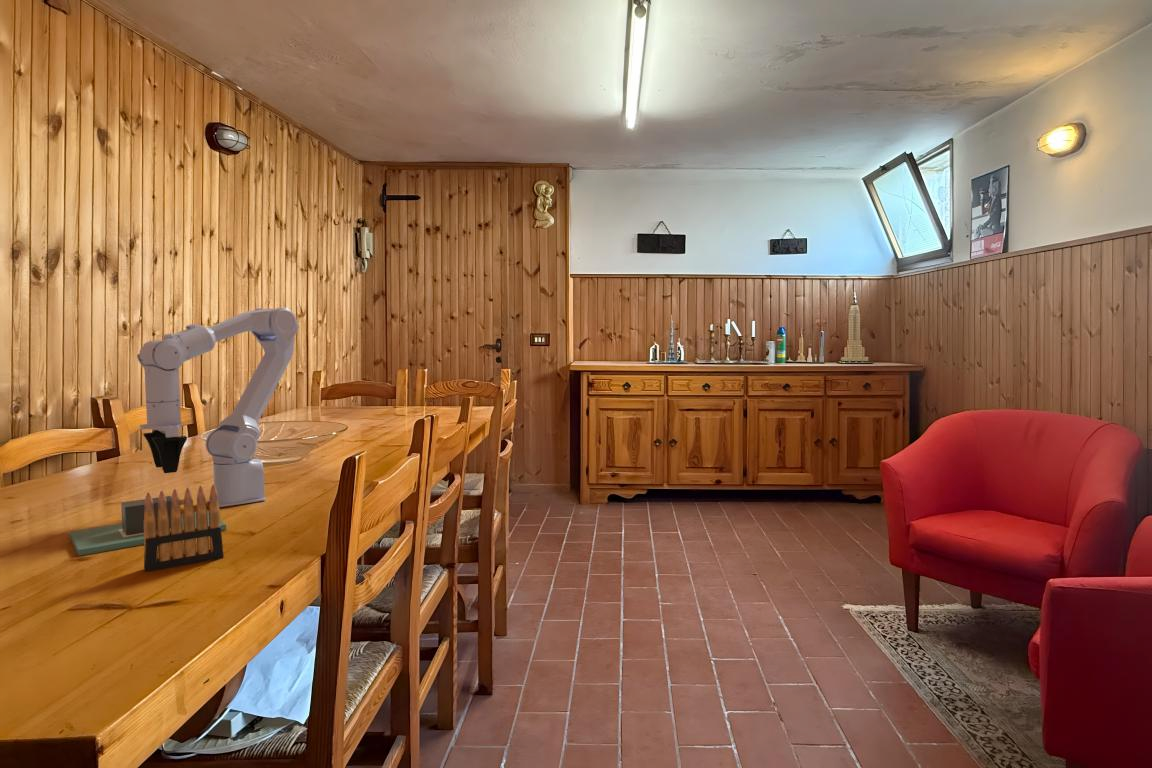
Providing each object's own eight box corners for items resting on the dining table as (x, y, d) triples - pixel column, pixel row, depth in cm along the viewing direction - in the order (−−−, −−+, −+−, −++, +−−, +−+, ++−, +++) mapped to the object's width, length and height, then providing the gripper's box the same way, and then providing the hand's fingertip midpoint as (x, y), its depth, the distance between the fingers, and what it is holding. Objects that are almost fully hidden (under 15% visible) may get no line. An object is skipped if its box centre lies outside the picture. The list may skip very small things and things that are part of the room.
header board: (207, 514, 133) (206, 497, 133) (226, 529, 123) (225, 511, 123) (69, 536, 119) (68, 517, 119) (78, 556, 108) (77, 534, 108)
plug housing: (190, 519, 126) (189, 493, 126) (196, 523, 123) (195, 497, 123) (122, 530, 119) (121, 502, 119) (126, 535, 116) (125, 507, 116)
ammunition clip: (145, 572, 101) (141, 494, 100) (144, 568, 103) (140, 492, 102) (223, 558, 108) (220, 484, 107) (221, 555, 109) (218, 482, 108)
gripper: (132, 399, 134) (135, 466, 135) (146, 405, 123) (149, 478, 124) (173, 397, 138) (175, 462, 139) (189, 402, 127) (192, 472, 128)
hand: (166, 469), depth 132 cm, fingers open, 7 cm apart
